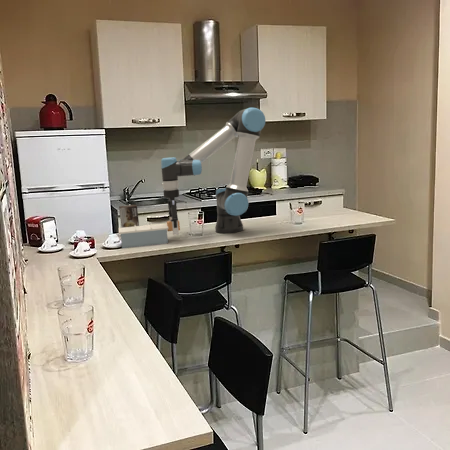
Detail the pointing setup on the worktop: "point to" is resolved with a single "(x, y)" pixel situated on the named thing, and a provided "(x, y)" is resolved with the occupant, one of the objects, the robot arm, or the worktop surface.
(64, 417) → the worktop surface
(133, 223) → the coffee box
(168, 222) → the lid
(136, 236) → the tub
